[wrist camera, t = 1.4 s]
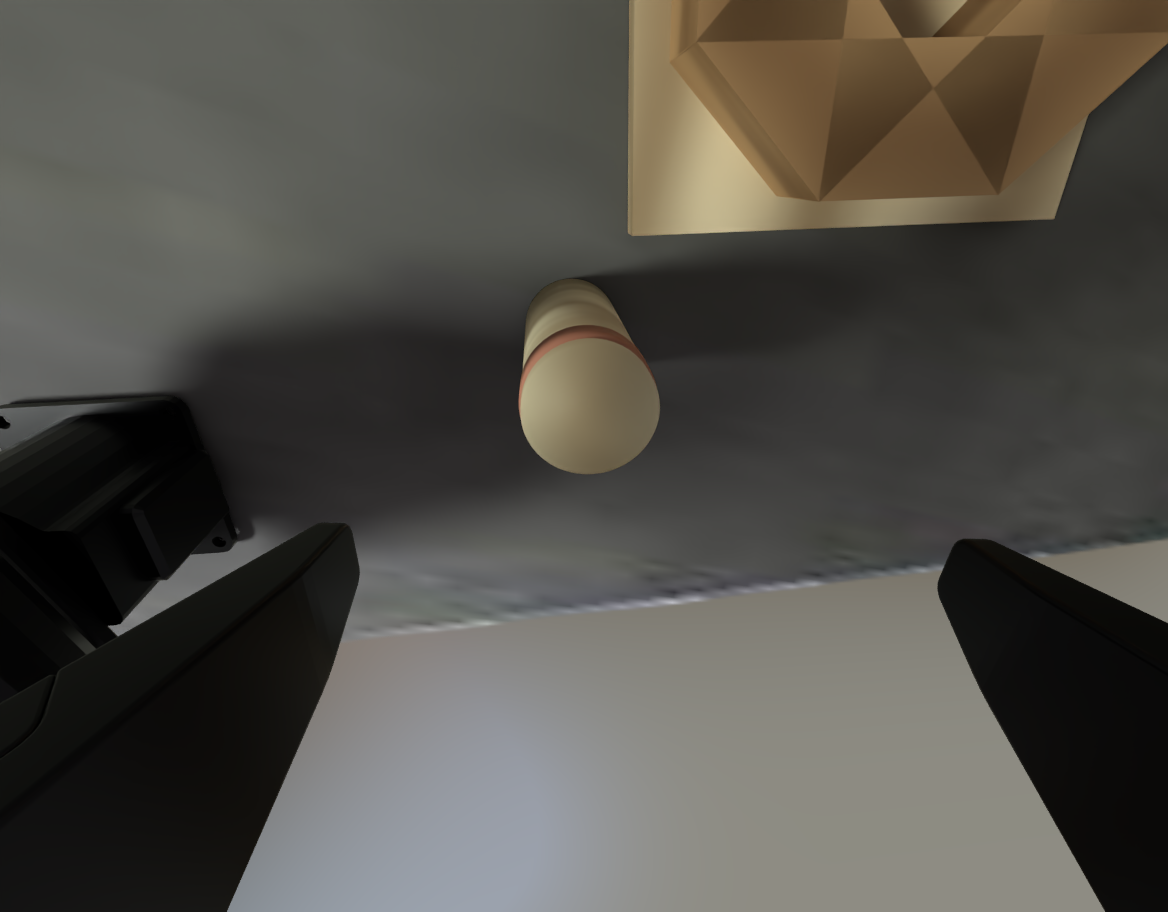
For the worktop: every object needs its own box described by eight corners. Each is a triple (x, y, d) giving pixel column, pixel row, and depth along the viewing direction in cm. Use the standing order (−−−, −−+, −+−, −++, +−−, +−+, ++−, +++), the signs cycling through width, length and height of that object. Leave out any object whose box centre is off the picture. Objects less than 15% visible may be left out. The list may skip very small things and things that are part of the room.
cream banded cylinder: (527, 372, 21) (524, 480, 14) (520, 279, 19) (511, 346, 12) (617, 367, 21) (659, 471, 14) (617, 275, 19) (664, 338, 12)
